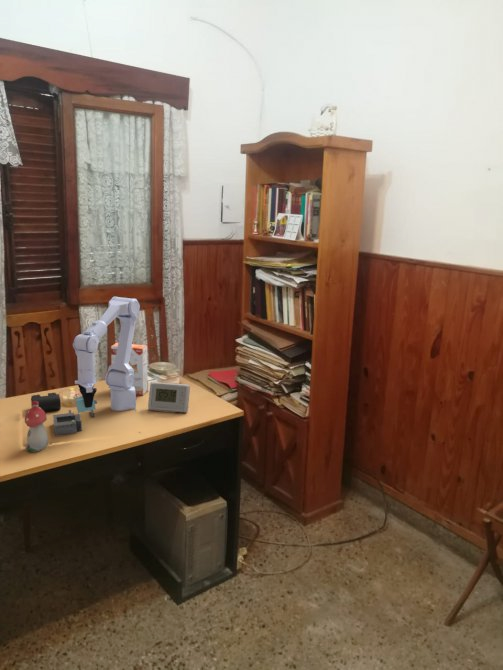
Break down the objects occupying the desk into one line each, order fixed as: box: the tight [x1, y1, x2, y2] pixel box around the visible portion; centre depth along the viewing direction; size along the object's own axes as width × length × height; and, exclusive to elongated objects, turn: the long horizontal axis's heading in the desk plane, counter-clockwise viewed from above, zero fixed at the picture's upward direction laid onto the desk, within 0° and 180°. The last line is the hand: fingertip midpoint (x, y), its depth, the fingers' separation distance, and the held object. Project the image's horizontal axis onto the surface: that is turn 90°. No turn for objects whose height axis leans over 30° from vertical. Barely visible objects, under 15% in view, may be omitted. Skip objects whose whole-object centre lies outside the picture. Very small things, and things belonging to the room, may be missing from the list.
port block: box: [52, 412, 83, 437], centre depth 183 cm, size 9×10×5 cm
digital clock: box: [147, 381, 191, 414], centre depth 205 cm, size 16×9×11 cm, turn 72°
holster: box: [68, 409, 95, 418], centre depth 194 cm, size 9×7×3 cm
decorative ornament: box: [24, 401, 49, 453], centre depth 169 cm, size 9×6×15 cm
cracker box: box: [110, 342, 149, 396], centre depth 220 cm, size 14×6×21 cm, turn 80°
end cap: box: [30, 392, 62, 413], centre depth 198 cm, size 10×7×7 cm
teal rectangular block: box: [74, 395, 98, 414], centre depth 184 cm, size 7×4×4 cm, turn 113°
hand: (87, 405), depth 184 cm, fingers closed on teal rectangular block, 3 cm apart
